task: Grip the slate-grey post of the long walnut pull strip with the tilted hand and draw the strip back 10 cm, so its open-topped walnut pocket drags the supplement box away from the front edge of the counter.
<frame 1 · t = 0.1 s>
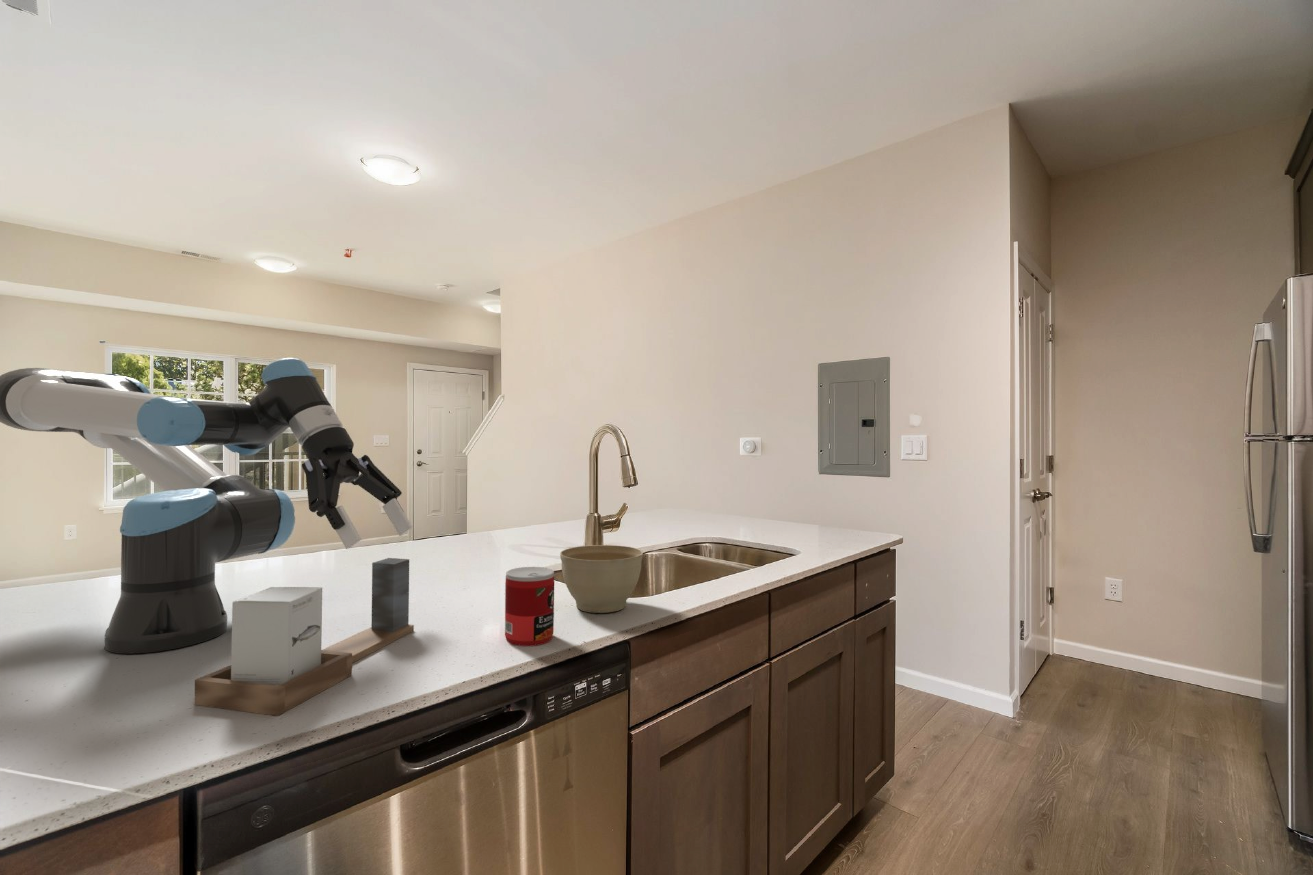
hand: (382, 537, 101), 15 cm above the worktop, tool tilted 35°, fingers open, 13 cm apart
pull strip: (331, 621, 84), point 6 cm above the worktop, slide at 0.0 cm
planter bowl: (601, 607, 114), on the worktop
supplement box: (277, 692, 75), resting in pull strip
canned food: (529, 639, 96), on the worktop
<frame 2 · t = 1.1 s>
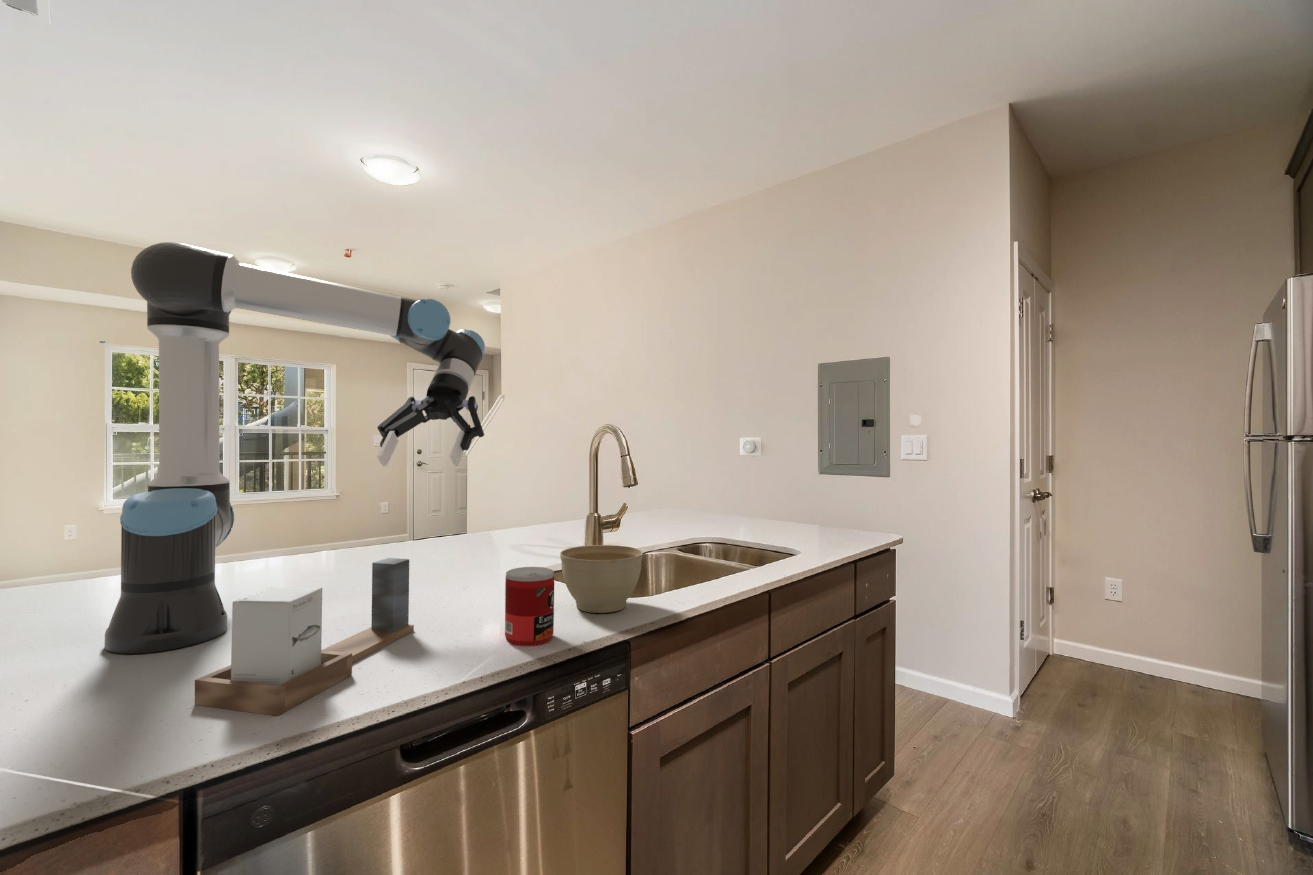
hand: (417, 461, 106), 28 cm above the worktop, tool tilted 45°, fingers open, 13 cm apart
nothing on the worktop moved.
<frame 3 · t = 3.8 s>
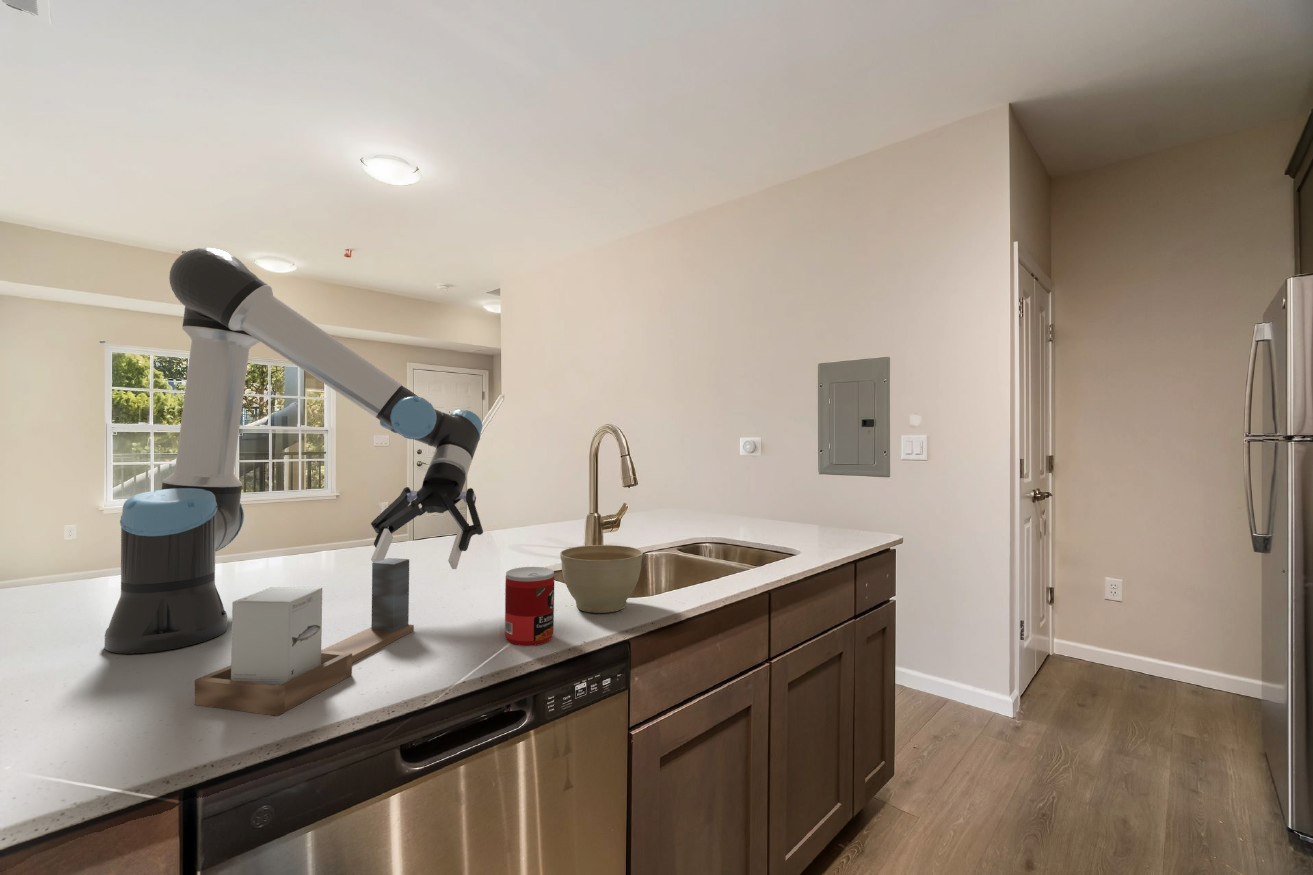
hand: (413, 564, 102), 10 cm above the worktop, tool tilted 45°, fingers open, 13 cm apart
nothing on the worktop moved.
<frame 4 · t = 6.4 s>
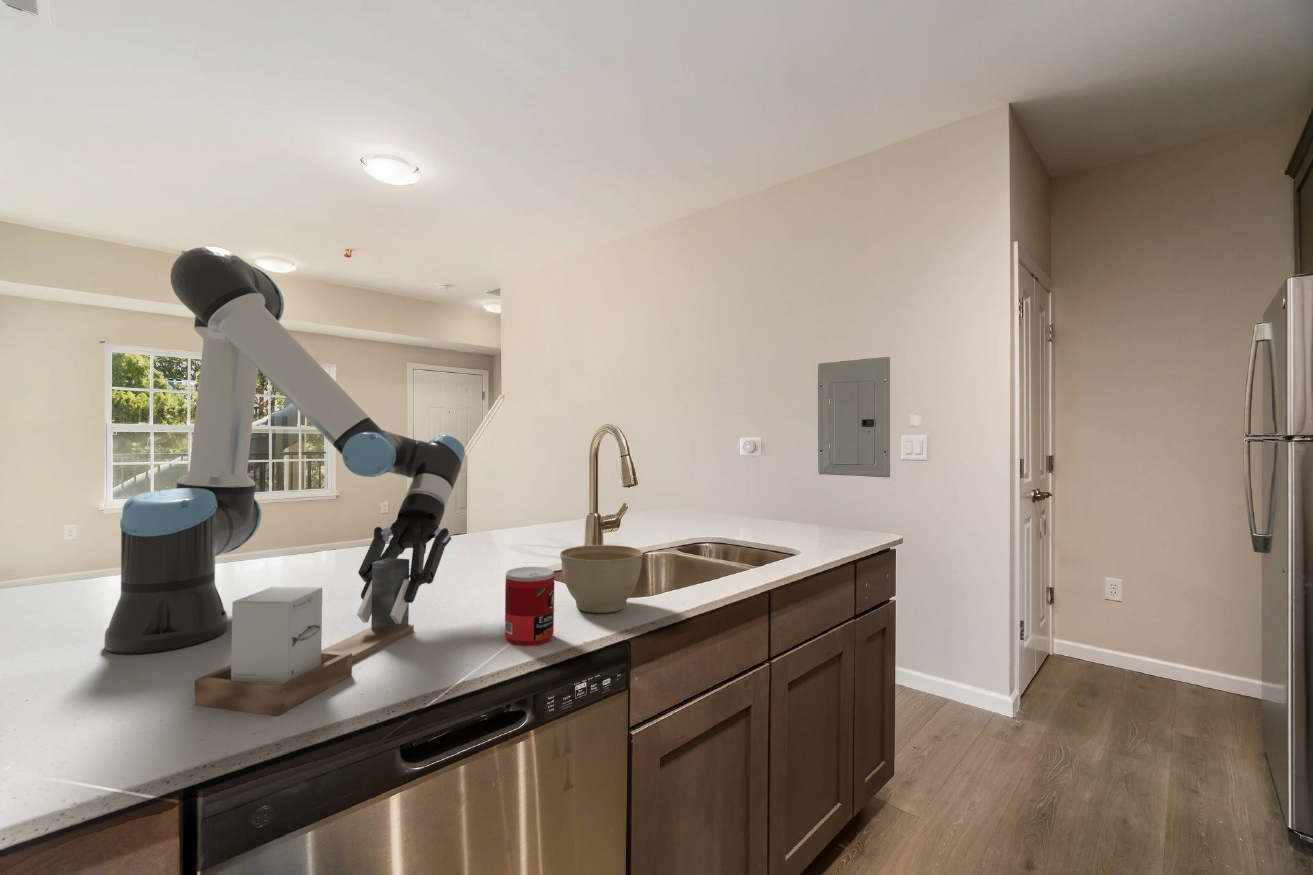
hand: (378, 618, 93), 4 cm above the worktop, tool tilted 45°, fingers closed on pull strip, 5 cm apart
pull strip: (331, 621, 84), point 6 cm above the worktop, slide at 0.0 cm, touching gripper
everything else where it was.
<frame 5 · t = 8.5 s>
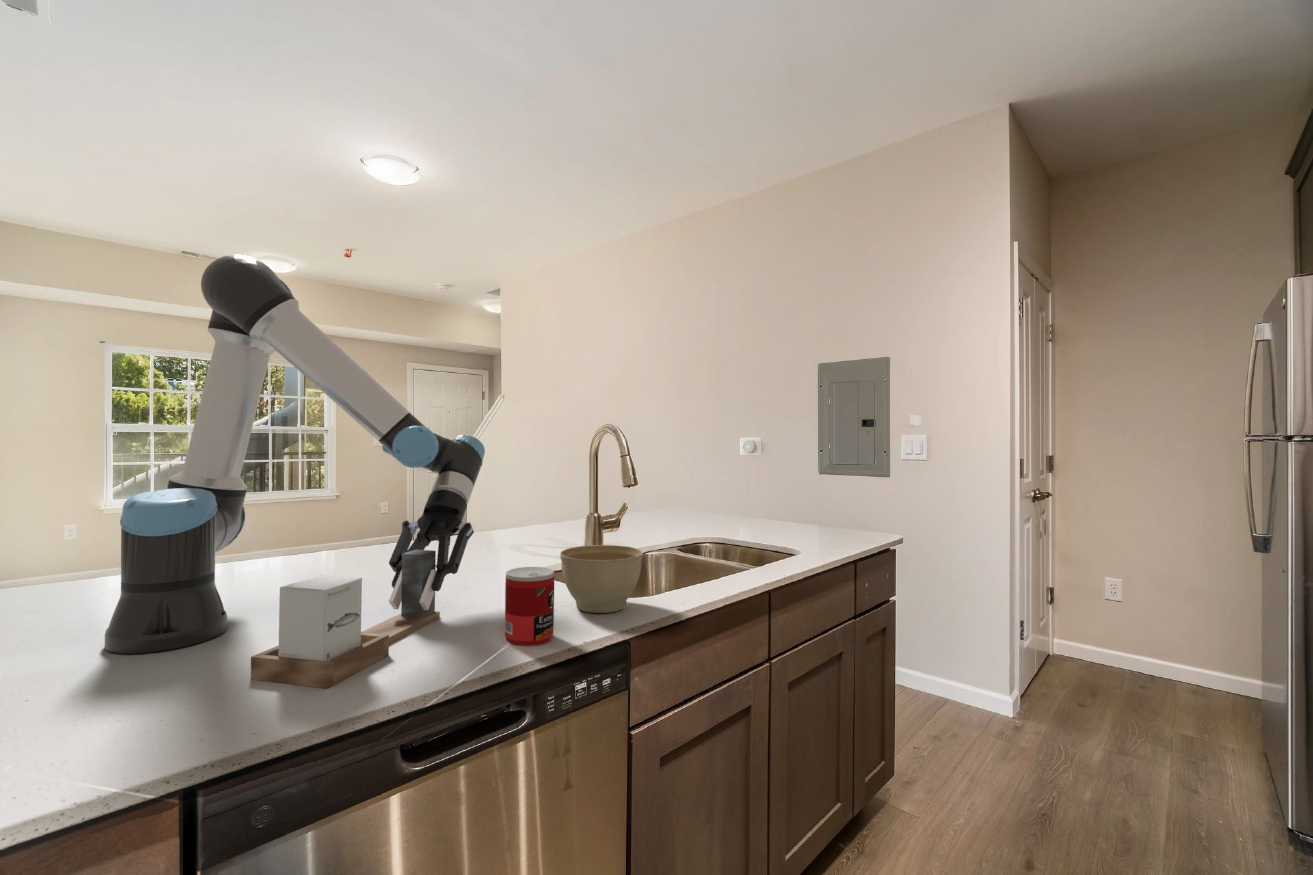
hand: (408, 605, 100), 4 cm above the worktop, tool tilted 45°, fingers closed on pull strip, 5 cm apart
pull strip: (368, 606, 91), point 6 cm above the worktop, slide at 7.6 cm, touching gripper, supplement box
supplement box: (320, 673, 81), resting in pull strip
everything else where it was.
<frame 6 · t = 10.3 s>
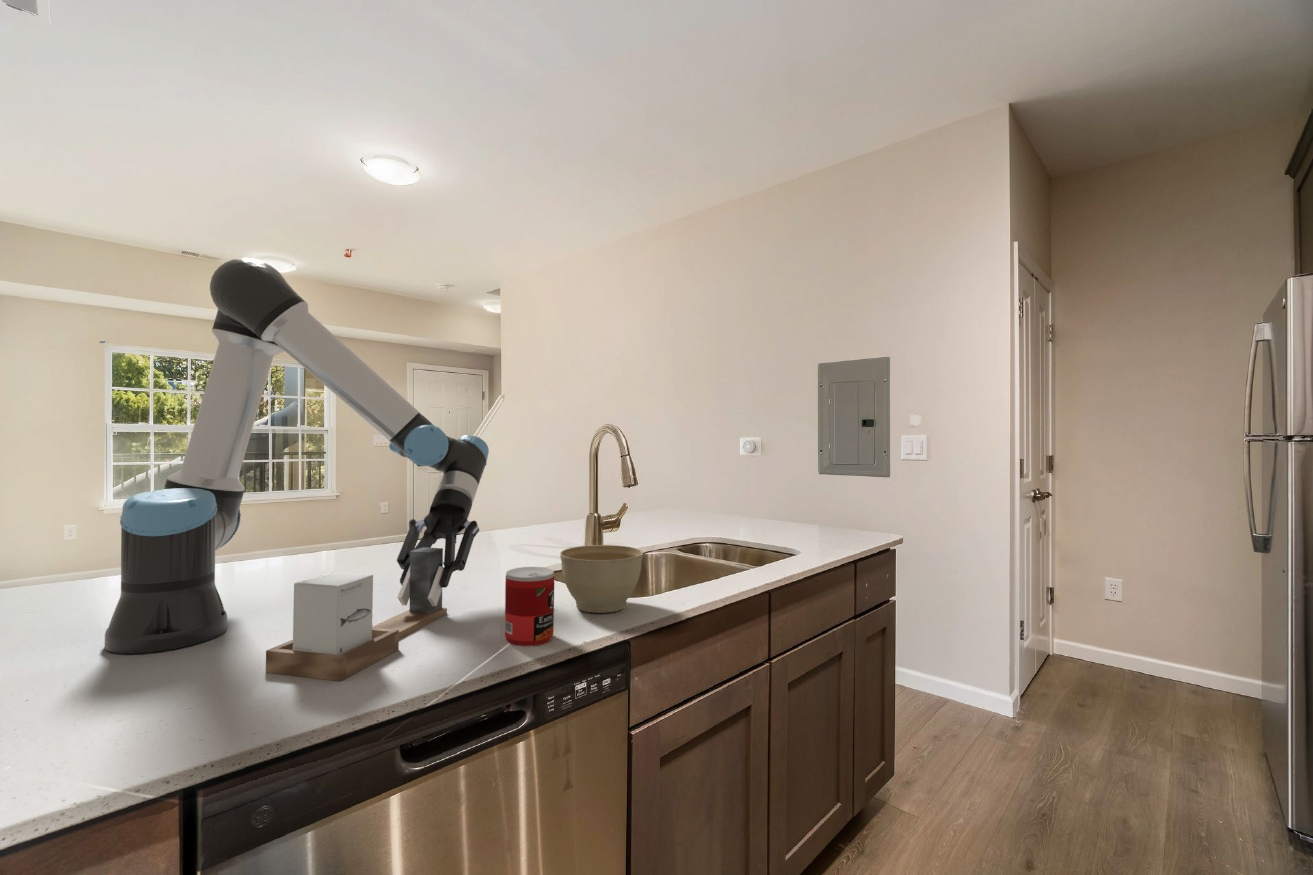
hand: (417, 601, 103), 4 cm above the worktop, tool tilted 45°, fingers open, 5 cm apart
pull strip: (378, 602, 94), point 6 cm above the worktop, slide at 9.9 cm
supplement box: (333, 667, 83), resting in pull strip
everything else where it was.
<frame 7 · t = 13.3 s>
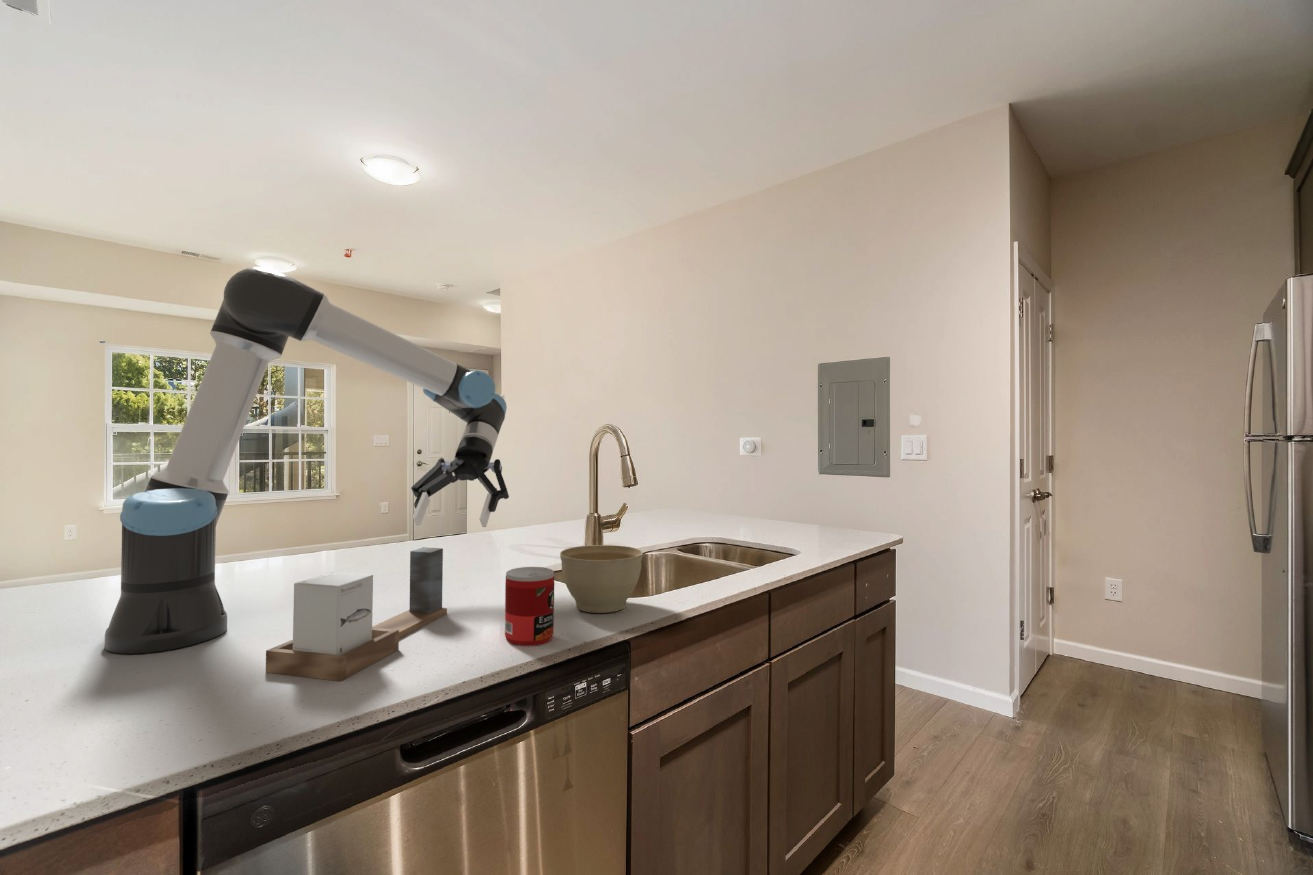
hand: (449, 522, 117), 16 cm above the worktop, tool tilted 45°, fingers open, 13 cm apart
nothing on the worktop moved.
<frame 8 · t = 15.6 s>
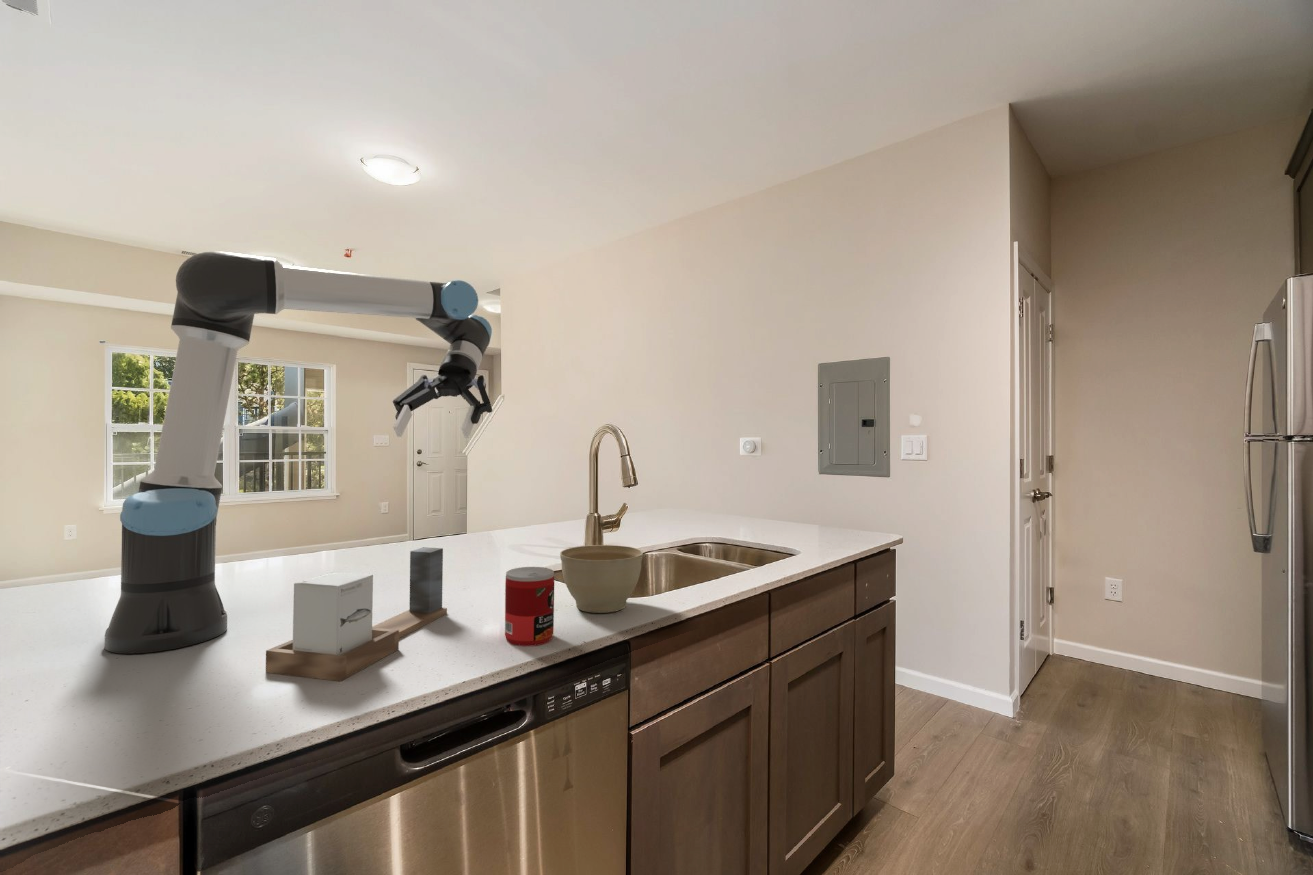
hand: (430, 432, 115), 34 cm above the worktop, tool tilted 45°, fingers open, 13 cm apart
nothing on the worktop moved.
at the end: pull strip slide at 9.9 cm; supplement box moved 8.7 cm from its start; supplement box tilted 0° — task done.
